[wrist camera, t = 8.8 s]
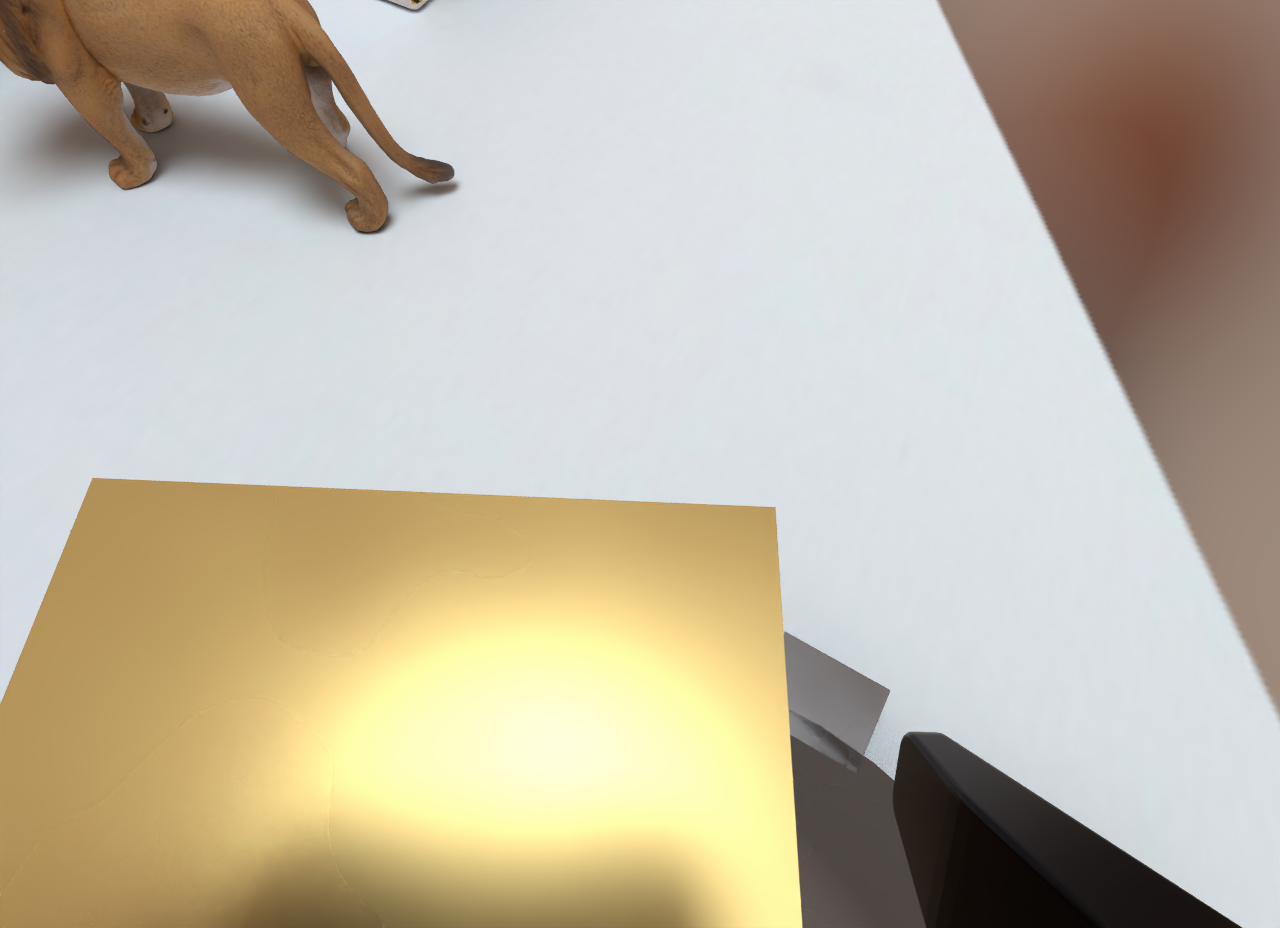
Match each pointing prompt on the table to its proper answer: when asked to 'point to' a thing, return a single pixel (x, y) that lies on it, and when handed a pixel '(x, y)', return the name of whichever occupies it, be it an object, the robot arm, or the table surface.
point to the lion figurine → (205, 79)
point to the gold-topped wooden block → (400, 715)
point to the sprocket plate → (843, 799)
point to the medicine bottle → (410, 3)
